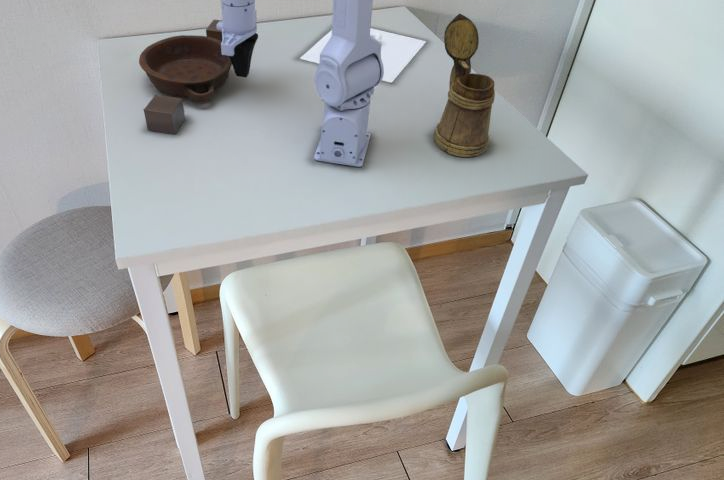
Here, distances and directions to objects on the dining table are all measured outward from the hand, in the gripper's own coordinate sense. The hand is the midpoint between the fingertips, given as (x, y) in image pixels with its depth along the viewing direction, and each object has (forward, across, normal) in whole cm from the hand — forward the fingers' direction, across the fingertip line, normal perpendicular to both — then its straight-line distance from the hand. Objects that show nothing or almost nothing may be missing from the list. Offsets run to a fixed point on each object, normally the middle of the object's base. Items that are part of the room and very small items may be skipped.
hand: (242, 75), depth 109 cm
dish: (+3, 0, -10) cm, 11 cm away
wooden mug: (+3, +6, +40) cm, 40 cm away
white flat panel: (+3, -21, +20) cm, 29 cm away
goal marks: (+2, 0, -9) cm, 9 cm away
